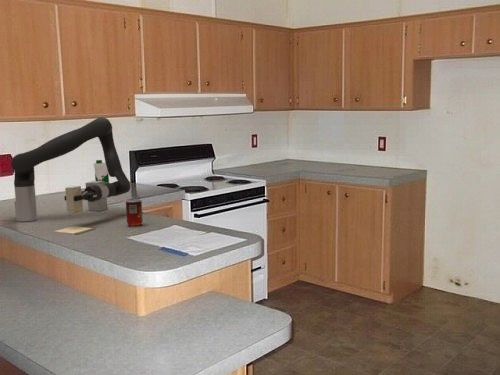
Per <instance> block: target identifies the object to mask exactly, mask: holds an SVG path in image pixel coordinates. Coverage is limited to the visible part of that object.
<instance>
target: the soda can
mask: <svg viewBox="0 0 500 375" xmlns="http://www.w3.org/2000/svg"><path fill="white" fill-rule="evenodd" d="M142 202H143V201H142V200H141V199H140V198H129V199H126V201H125V212H126V223H127V224H128V227H131V228H136V227H137V228H138V227H141V226H142V223H143V206H142V205H143V204H142Z"/></svg>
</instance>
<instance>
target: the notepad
mask: <svg viewBox="0 0 500 375" xmlns="http://www.w3.org/2000/svg"><path fill="white" fill-rule="evenodd" d="M95 230H96V228H94V227H83V226H76V225H75V226H69V227H64V228H61V229H58V230H55V231H54V233H61V234H69V235H80V234H85V233H88V232H92V231H95Z"/></svg>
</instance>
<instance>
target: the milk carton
mask: <svg viewBox="0 0 500 375" xmlns="http://www.w3.org/2000/svg"><path fill="white" fill-rule="evenodd" d="M93 167H94V178H95V180H94V181H104V183H110V176H109V173H108V170H107V166H106V162H103V160H102V159H98V160H97V159H96V160H95V163H93Z"/></svg>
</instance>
